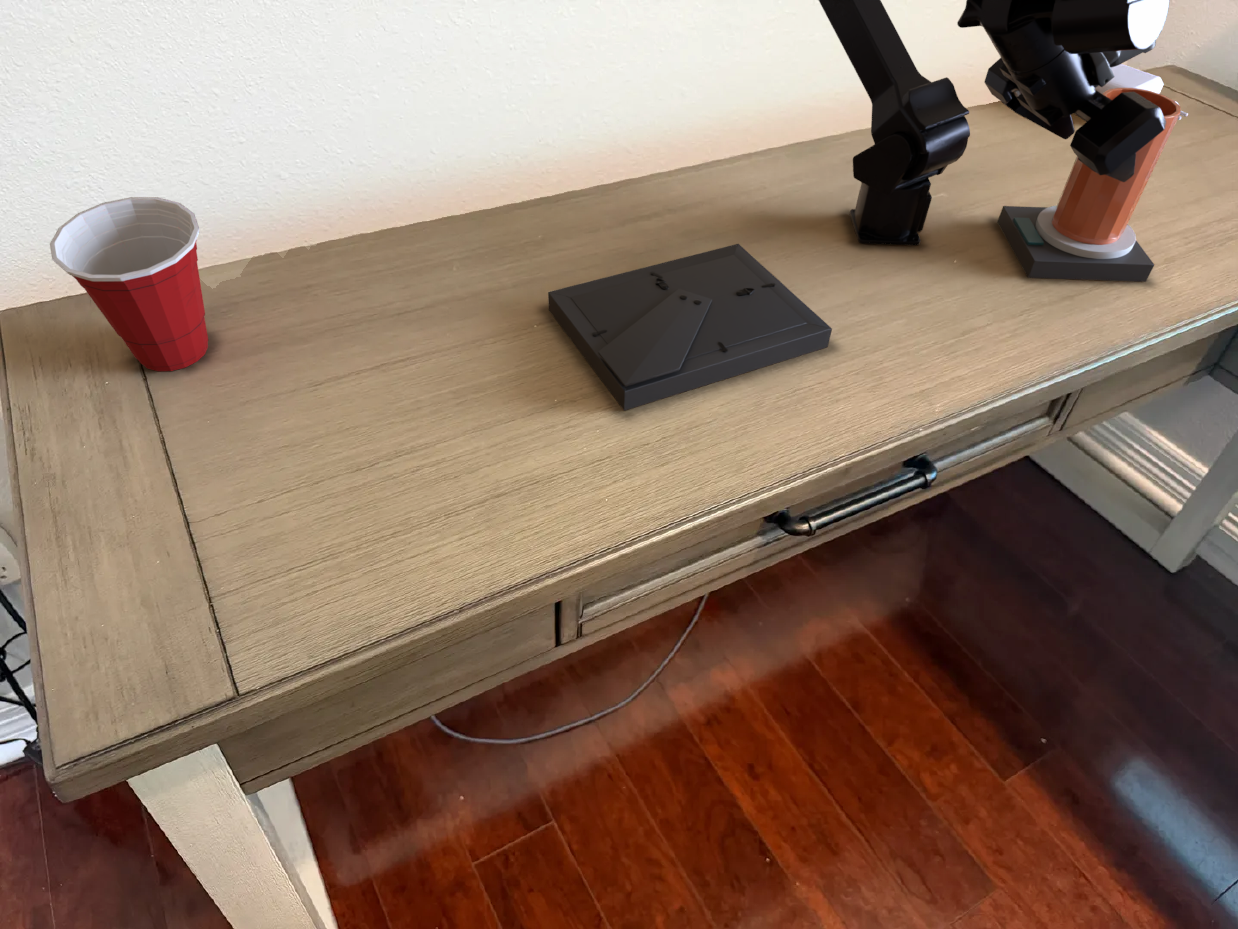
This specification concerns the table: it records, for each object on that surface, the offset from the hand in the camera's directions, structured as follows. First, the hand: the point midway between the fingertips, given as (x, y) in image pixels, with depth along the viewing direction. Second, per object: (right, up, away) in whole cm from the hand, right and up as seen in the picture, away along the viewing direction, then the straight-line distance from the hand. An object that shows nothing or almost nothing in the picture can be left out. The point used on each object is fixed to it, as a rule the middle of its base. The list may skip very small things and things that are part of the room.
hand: (1097, 155), depth 86 cm
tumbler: (+2, -5, +6) cm, 8 cm away
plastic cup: (-85, -20, -8) cm, 88 cm away
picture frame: (-40, -18, -4) cm, 44 cm away
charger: (+21, +17, +33) cm, 42 cm away
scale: (+1, -7, +8) cm, 11 cm away
